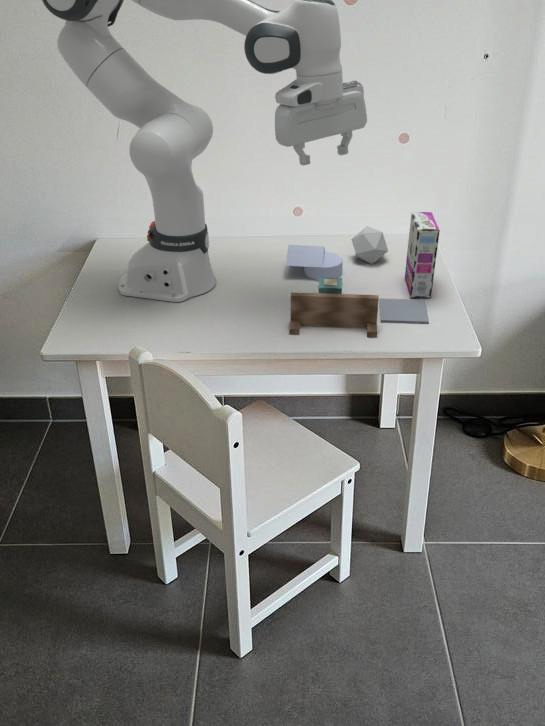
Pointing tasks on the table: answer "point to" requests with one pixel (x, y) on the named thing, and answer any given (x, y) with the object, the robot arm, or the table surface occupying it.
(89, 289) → the table surface
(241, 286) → the table surface
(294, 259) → the wedge on round base
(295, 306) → the walnut board
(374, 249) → the die
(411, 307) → the grey mat
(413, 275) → the candy bar box
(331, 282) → the teal block
